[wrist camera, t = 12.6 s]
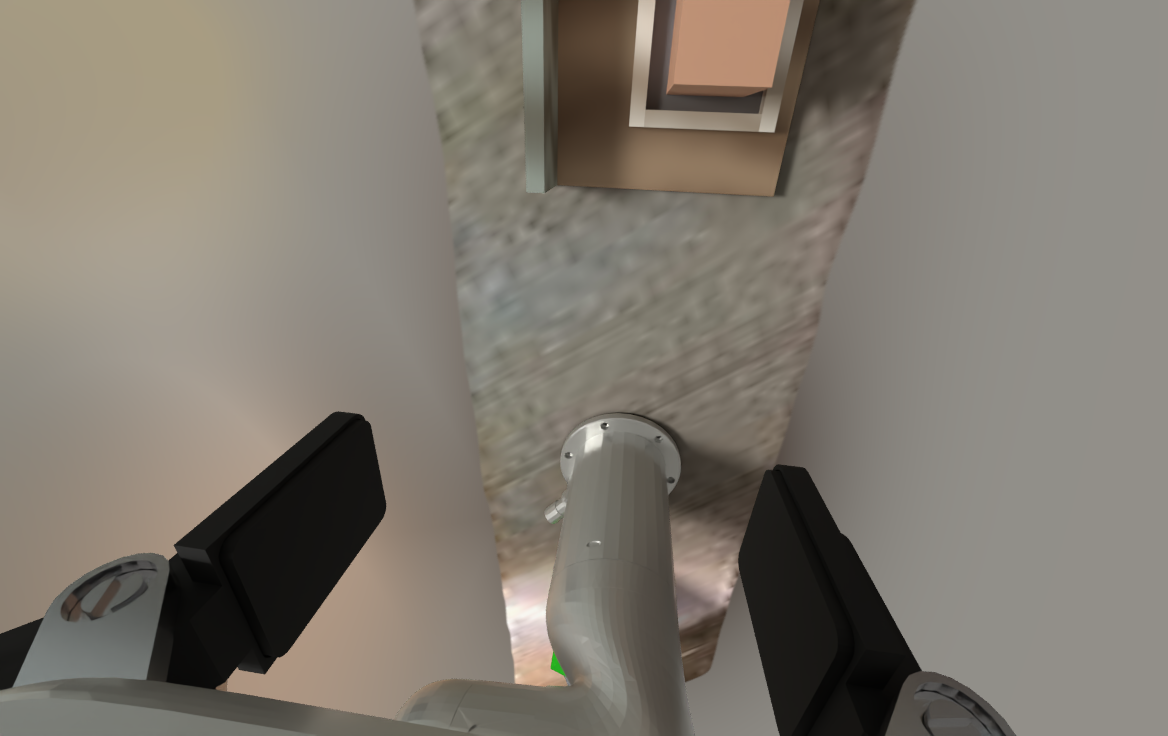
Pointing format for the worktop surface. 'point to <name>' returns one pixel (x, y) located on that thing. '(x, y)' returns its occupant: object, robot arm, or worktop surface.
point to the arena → (645, 103)
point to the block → (725, 46)
